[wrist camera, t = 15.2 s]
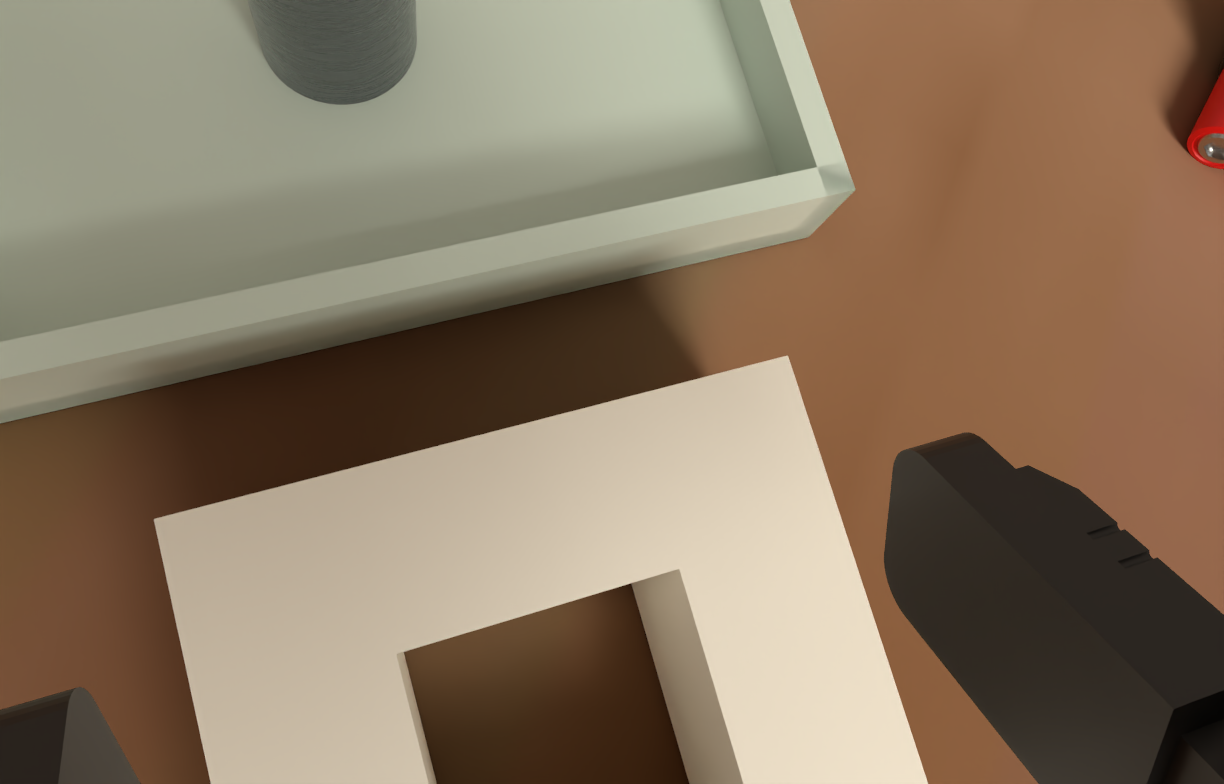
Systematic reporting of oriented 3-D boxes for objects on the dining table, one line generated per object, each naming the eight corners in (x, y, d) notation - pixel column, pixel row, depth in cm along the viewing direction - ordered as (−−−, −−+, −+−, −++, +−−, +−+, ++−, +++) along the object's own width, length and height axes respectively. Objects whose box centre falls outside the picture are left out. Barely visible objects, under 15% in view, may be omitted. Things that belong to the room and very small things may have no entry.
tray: (-62, 437, 18) (-136, 409, 16) (-169, -149, 20) (-250, -254, 18) (808, 236, 22) (855, 189, 20) (647, -240, 24) (672, -336, 21)
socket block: (342, 1129, 17) (316, 1279, 13) (210, 540, 19) (153, 518, 15) (880, 913, 19) (994, 986, 15) (720, 404, 21) (788, 356, 17)
